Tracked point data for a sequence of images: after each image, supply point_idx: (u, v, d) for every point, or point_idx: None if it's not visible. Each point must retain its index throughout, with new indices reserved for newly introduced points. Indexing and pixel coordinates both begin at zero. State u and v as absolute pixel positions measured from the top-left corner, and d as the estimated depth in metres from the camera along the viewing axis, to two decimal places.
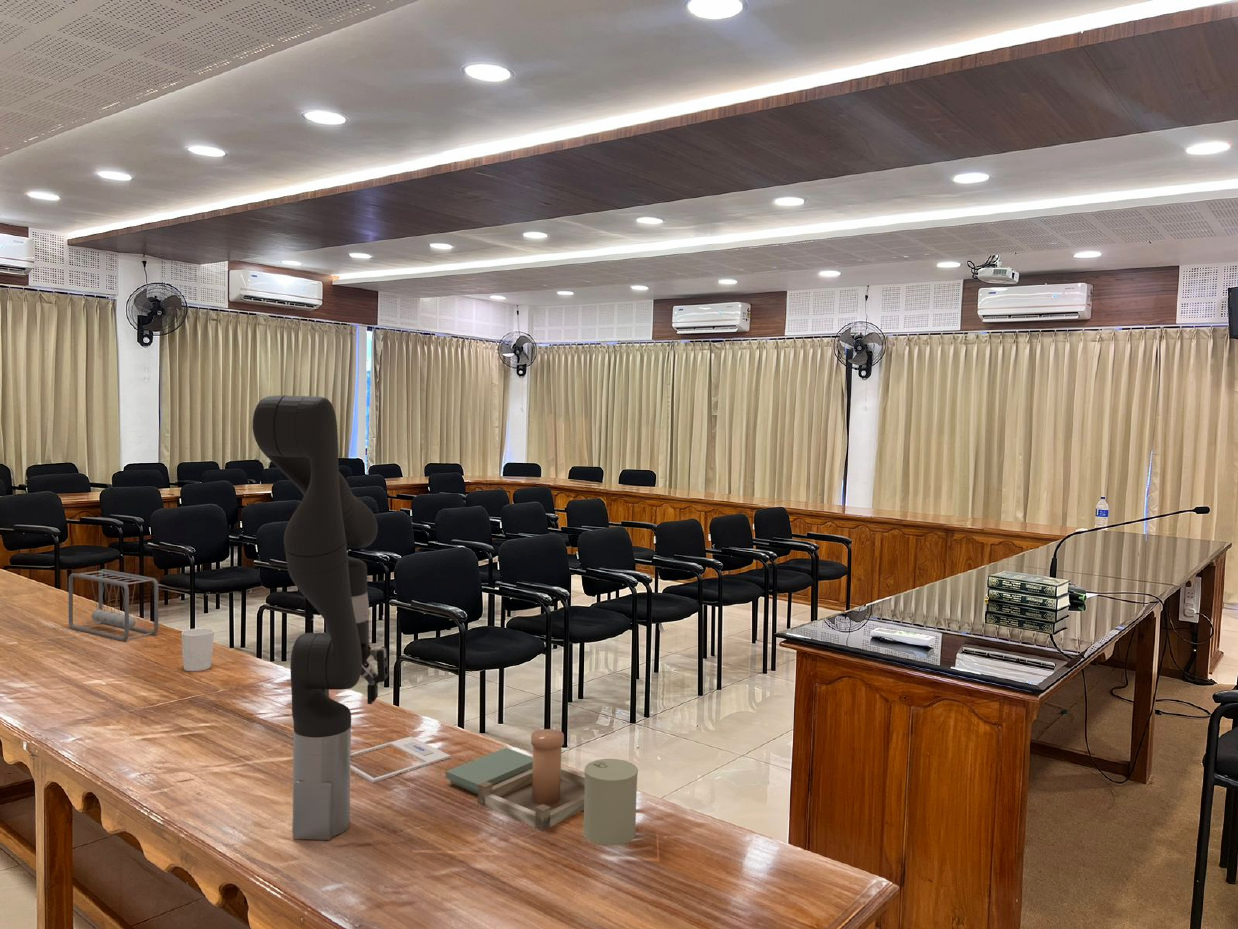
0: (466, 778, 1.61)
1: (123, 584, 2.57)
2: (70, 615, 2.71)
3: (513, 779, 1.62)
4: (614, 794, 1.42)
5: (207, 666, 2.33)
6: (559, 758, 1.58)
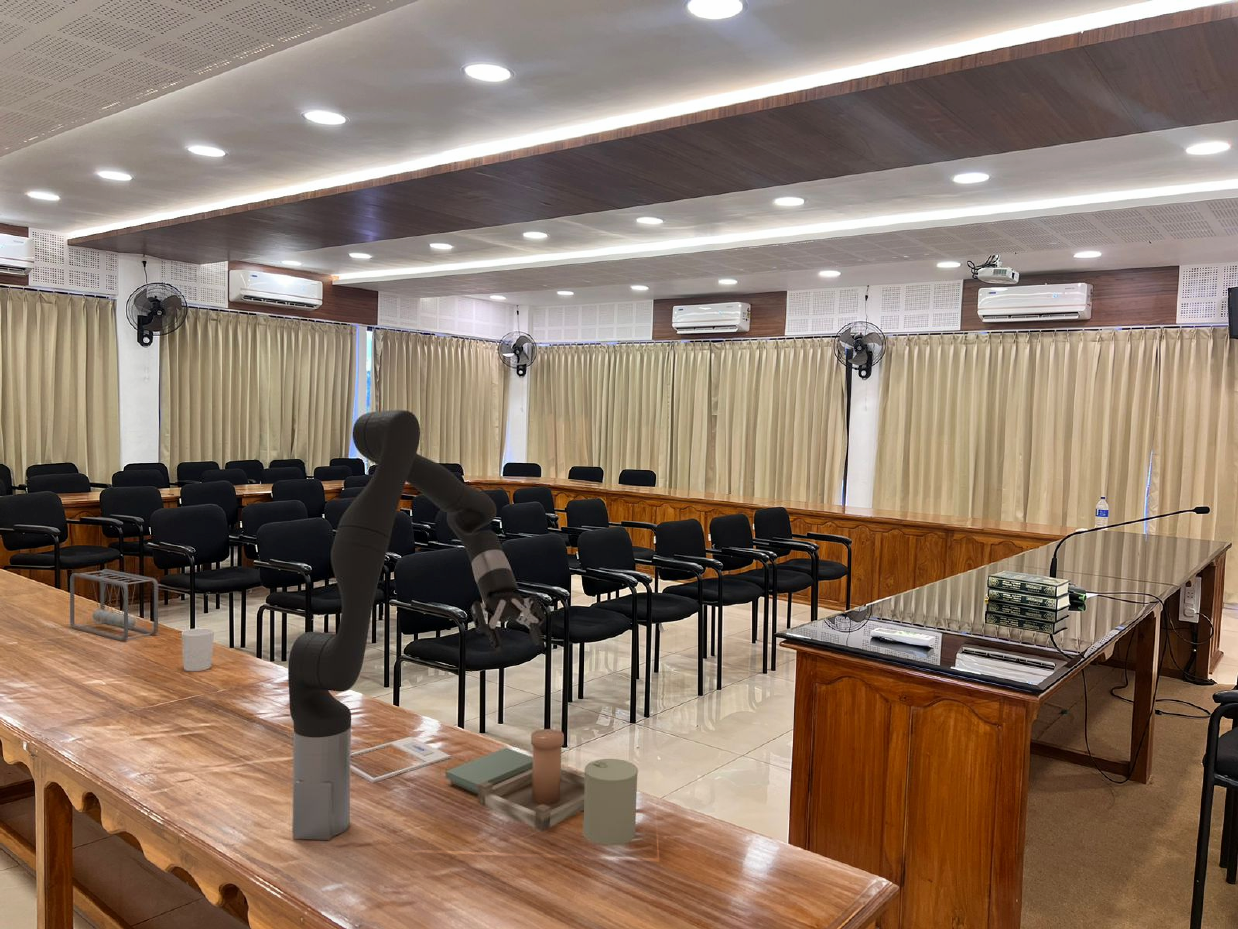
0: (466, 778, 1.61)
1: (122, 584, 2.57)
2: (71, 615, 2.71)
3: (513, 779, 1.62)
4: (614, 794, 1.42)
5: (207, 666, 2.33)
6: (559, 758, 1.58)
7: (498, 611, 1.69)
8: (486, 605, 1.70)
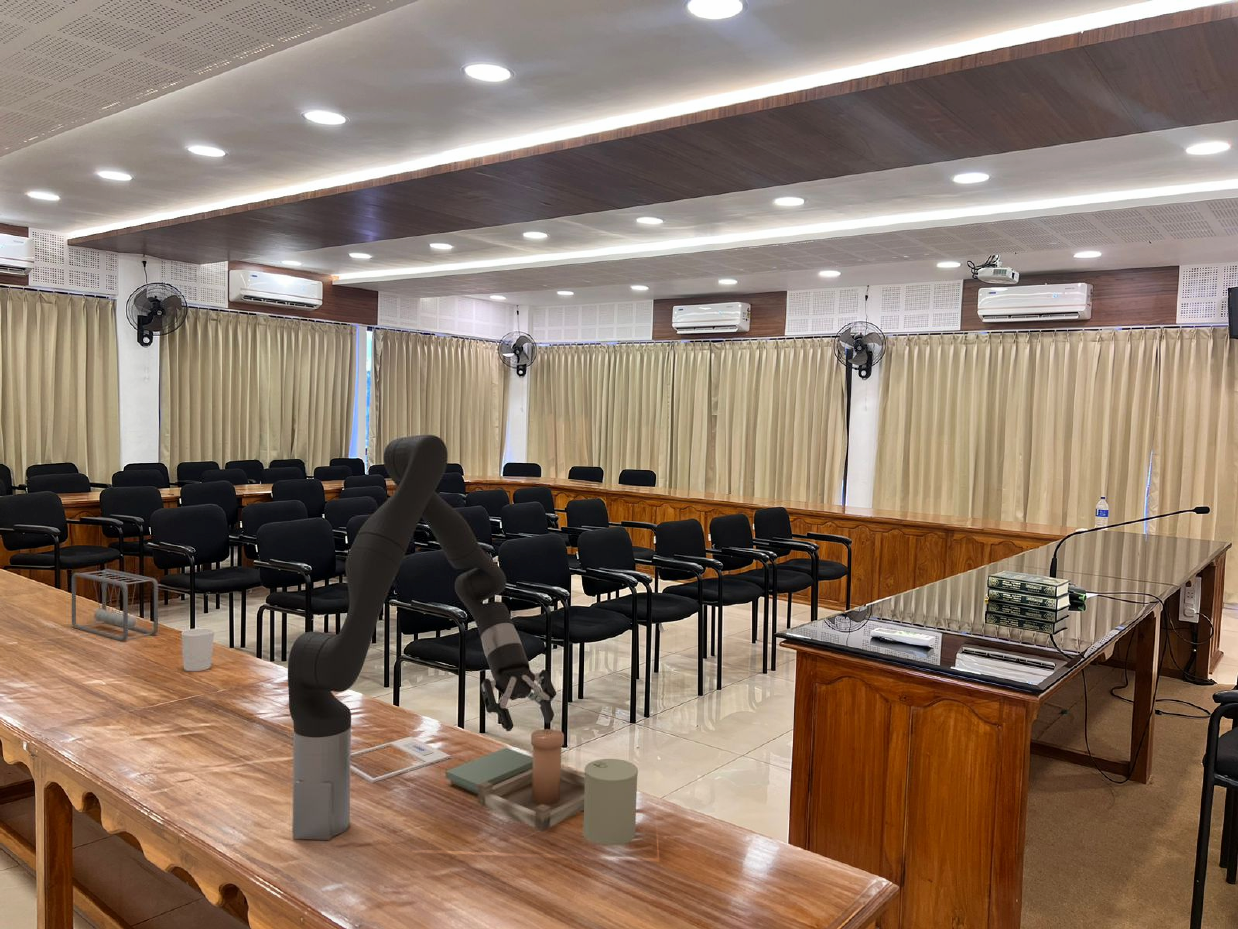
0: (466, 778, 1.61)
1: (122, 584, 2.57)
2: (73, 614, 2.72)
3: (513, 779, 1.62)
4: (614, 794, 1.42)
5: (207, 666, 2.33)
6: (559, 758, 1.58)
7: (509, 689, 1.65)
8: (496, 683, 1.66)
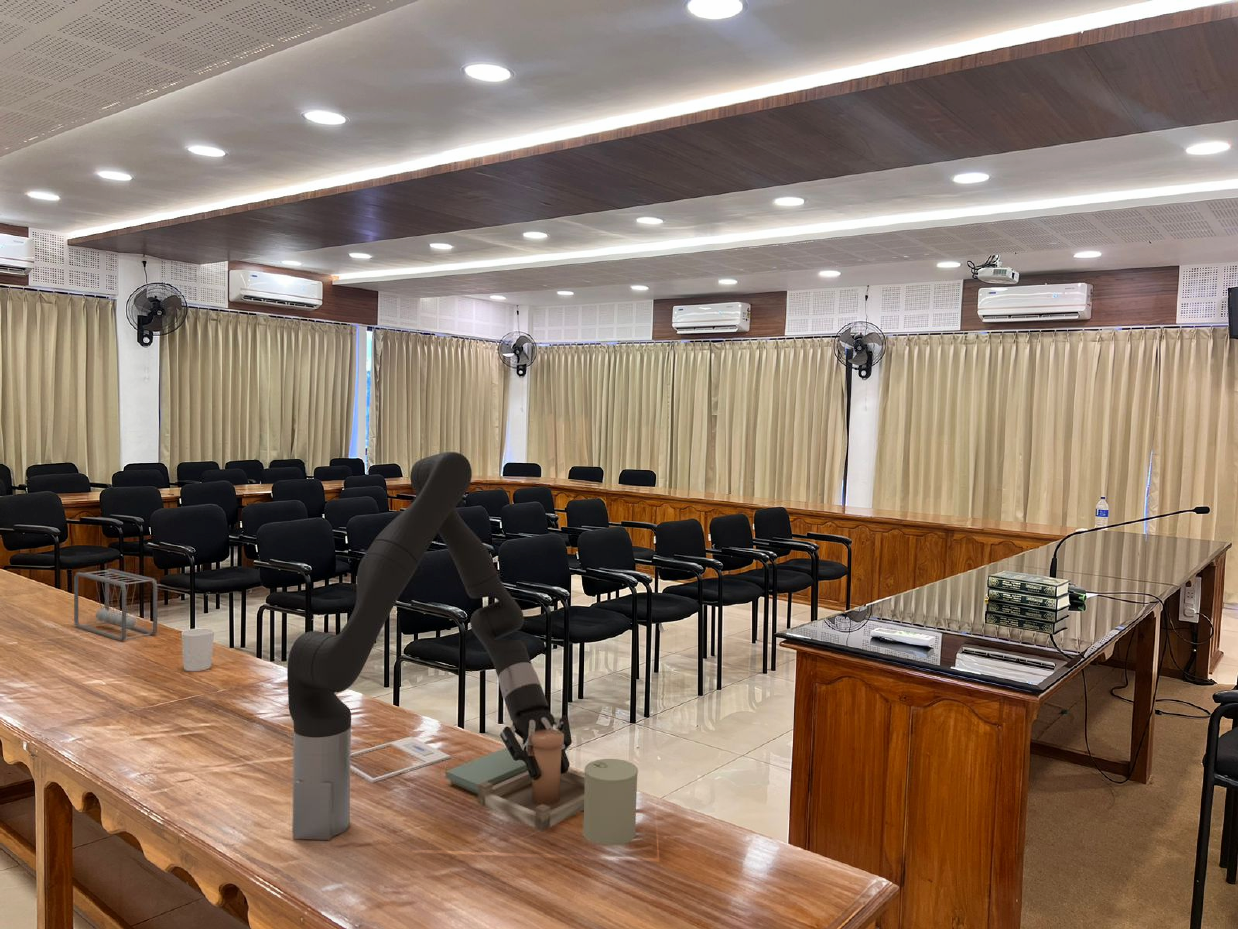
0: (466, 778, 1.61)
1: (121, 584, 2.57)
2: (75, 614, 2.73)
3: (513, 779, 1.62)
4: (614, 794, 1.42)
5: (207, 666, 2.33)
6: (559, 758, 1.58)
7: None
8: (516, 727, 1.60)
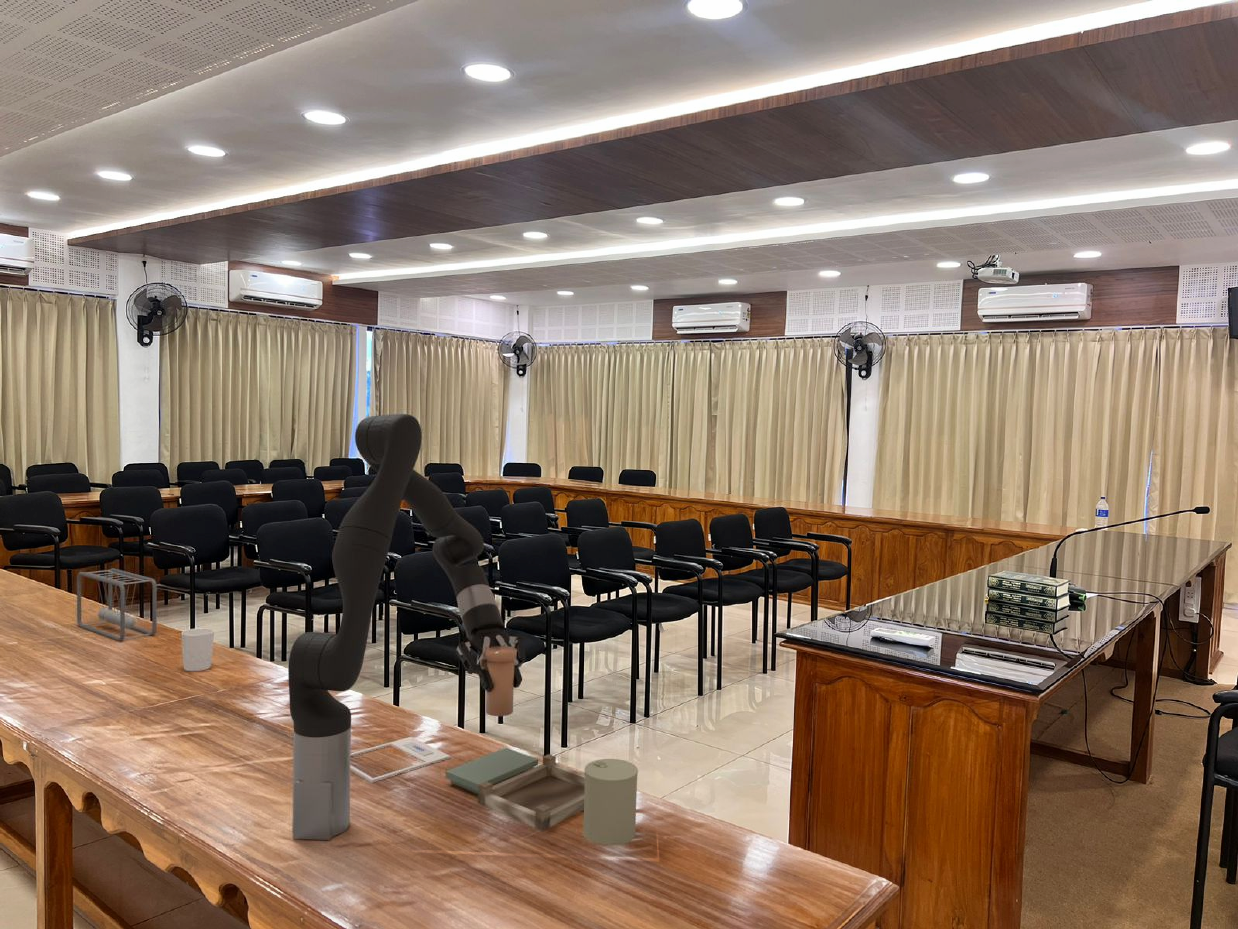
0: (466, 778, 1.61)
1: (119, 584, 2.57)
2: (78, 613, 2.73)
3: (513, 779, 1.62)
4: (614, 794, 1.42)
5: (207, 666, 2.33)
6: (511, 672, 1.64)
7: None
8: (471, 643, 1.67)
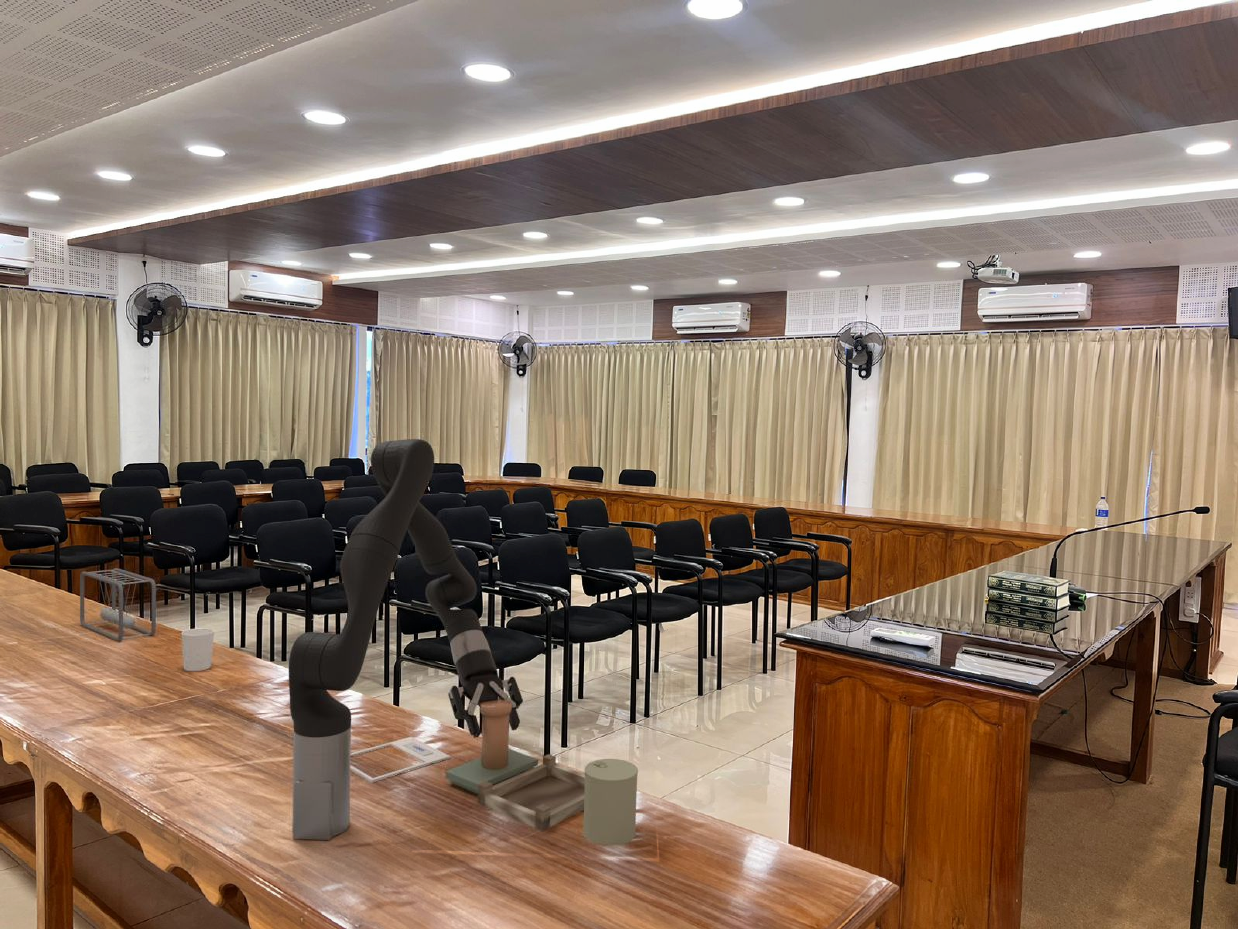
0: (466, 778, 1.61)
1: (118, 584, 2.57)
2: (81, 613, 2.74)
3: (513, 779, 1.62)
4: (614, 794, 1.42)
5: (207, 666, 2.33)
6: (507, 725, 1.67)
7: (476, 696, 1.67)
8: (464, 689, 1.68)
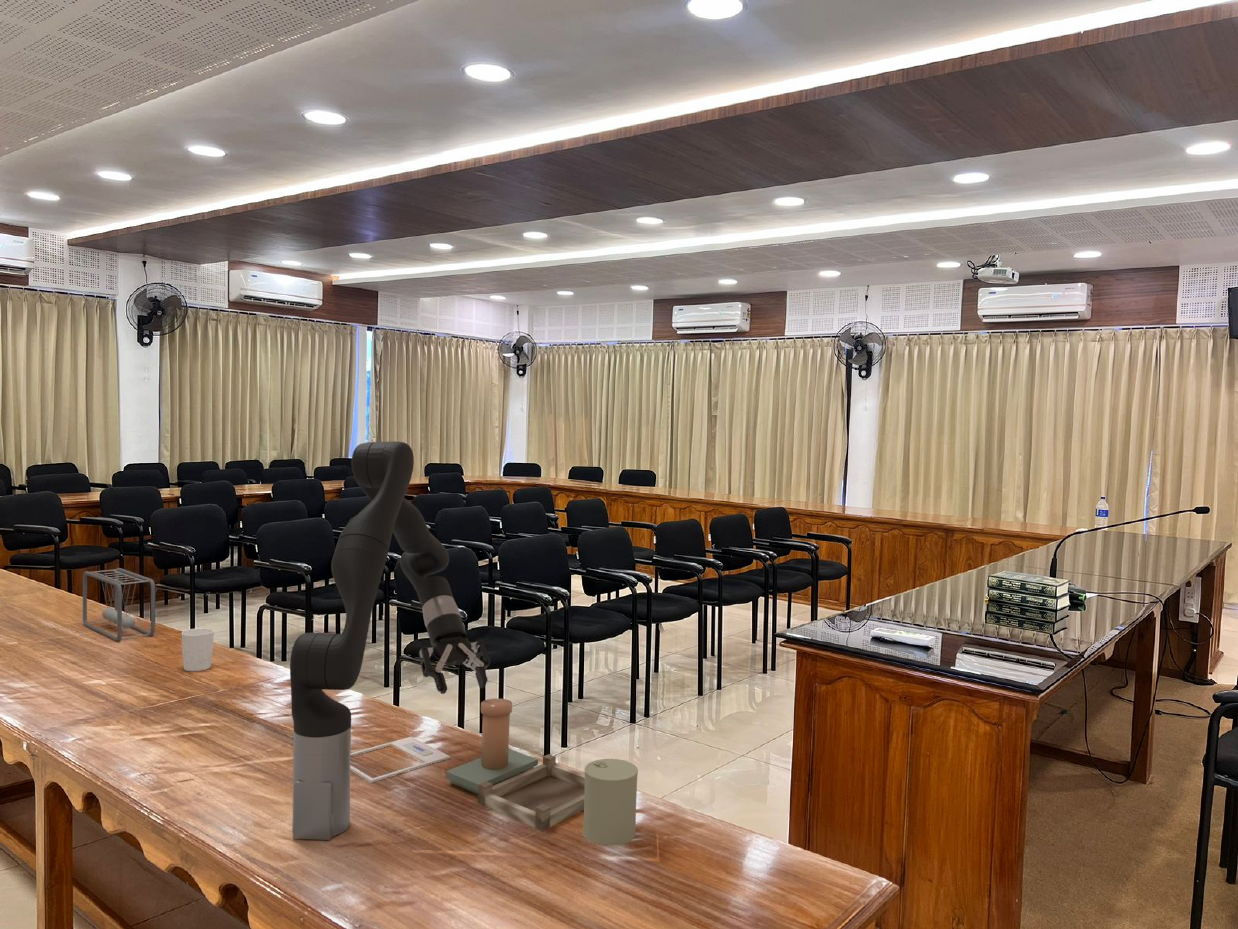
0: (466, 778, 1.61)
1: (116, 584, 2.57)
2: (84, 612, 2.75)
3: (513, 779, 1.62)
4: (614, 794, 1.42)
5: (207, 666, 2.33)
6: (507, 725, 1.67)
7: (444, 655, 1.77)
8: (433, 649, 1.78)
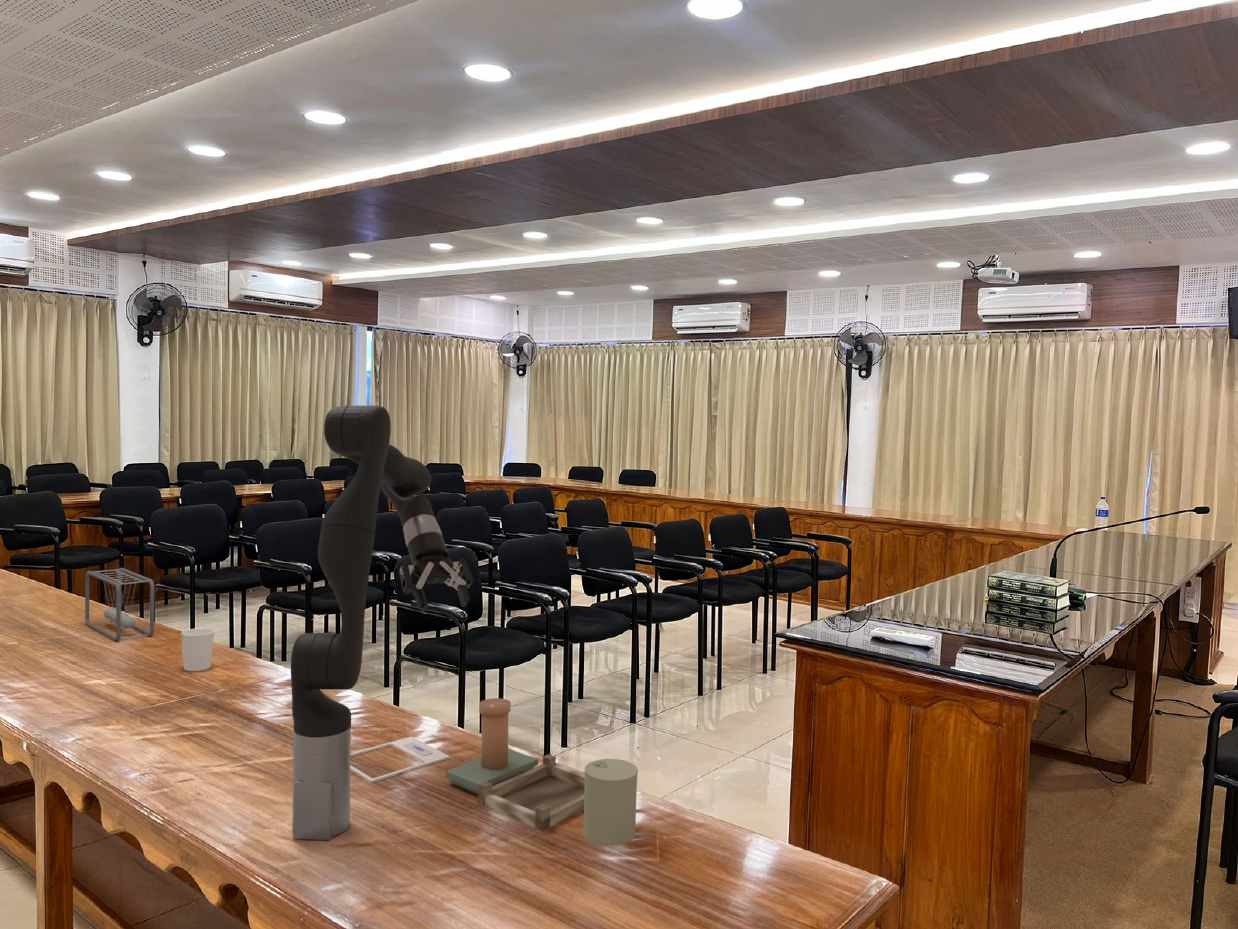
0: (466, 778, 1.61)
1: (115, 584, 2.57)
2: (86, 612, 2.76)
3: (513, 779, 1.62)
4: (614, 794, 1.42)
5: (207, 666, 2.33)
6: (506, 725, 1.67)
7: (425, 572, 1.73)
8: (414, 567, 1.74)
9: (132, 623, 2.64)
